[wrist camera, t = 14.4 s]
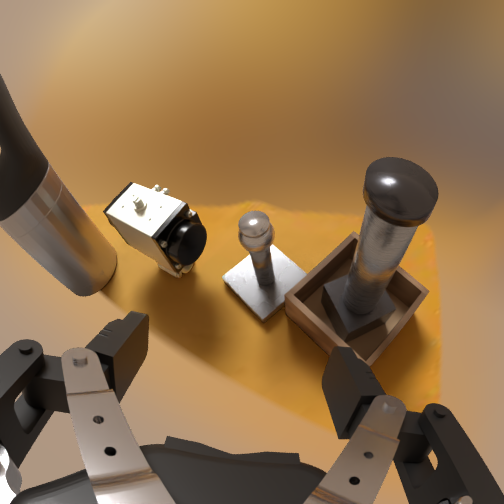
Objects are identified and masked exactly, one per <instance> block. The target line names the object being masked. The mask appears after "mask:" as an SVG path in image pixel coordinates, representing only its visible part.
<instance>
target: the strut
mask: <svg viewBox="0 0 504 504" xmlns="http://www.w3.org/2000/svg"><path fill="white" fill-rule="evenodd" d="M363 197H364V200H365V202H366V204H367V206H366V211H365V215H364V219H363V223H362V227H361V231H360V235H359V239H358V243H357V246H356V250H355V254H354V257H353V261H352V264H351V268H350V271H349V274H348V275H345V276H343V277H341V278H338V279H336V280H334V281H331V282H329V283H326V284H324V286H323V292H322V298H321V303H322V305H323V307H324V309H325V311H326V313H327V315H328V317H329V319H330V321H331V323H332V326H333V328H334V330H335V332H336V334H337V336H339V337H340V338H341V339H342V340H343V341H344V342H345V343H347V342H349V341H351V340H354V339H356V338H358V337H360V336H362V335H364V334H366V333H368V332H370V331H372V330H374V329H376V328H378V327H380V326H381V325H383V324H385V323H386V322H387V321H388V319H389V318H390V317H391V315H392V314H393V313H394V311H395V310H396V307H395V305H394V304H393V302H392V300H391V298H390V297H389V295H388V293H387V292H386V290H385V289H386V288H387V286H388V284H389V282H390V280H391V279H392V277H393V275H394V273H395V271H396V269H397V267H398V266H399V264H400V262H401V260H402V258H403V256H404V254H405V252H406V250H407V248H408V246H409V244H410V242H411V240H412V238H413V236H414V233H415V231H416V229H417V227H418V226H419V225H421V224H423V223H424V222H426V221H427V220H428V218H429V217H430V215H431V213H432V211H433V209H434V206H435V204H436V202H437V199H438V188H437V185H436V183H435V181H434V180H433V178H432V177H431V175H430V174H429V173H428V172H427V171H425V170H424V169H423V168H422V167H420V166H419V165H417V164H415V163H413V162H411V161H408V160H405V159H402V158H395V157H386V158H381V159H379V160H376V161H374V162H373V163H371V164H370V166H369V167H368V169H367V171H366V176H365V182H364V187H363Z"/></svg>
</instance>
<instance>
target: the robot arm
mask: <svg viewBox="0 0 504 504" xmlns="http://www.w3.org/2000/svg"><path fill="white" fill-rule="evenodd" d="M0 147H1V154H0V226H1V227H2V228H3V229H4V230H5V231H6V233H7V234H8V235H9V236H11V237H12V238H13V239H14V240H15V241H16V242H17V243H18V244H19V245H20V246H21V247H22V248H23V249H24V250H25V251H26V252H27V253H28V254H29V255H31V257H32V258H34V259H35V260H36V261H37V262H38V263H39V264H40V265H41V266H42V267H44V268H45V269H46V270H47V271H48V272H49V273H50V274H52V275H53V276H54V277H55V278H56V279H57V280H59V281H60V282H61V283H62V284H63V285H65V286H66V287H67V288H68V289H70V290H71V291H72V292H74V293H75V294H76V295H78V296H90V295H92V294H94V293H96V292H98V291H99V290H101V289H102V288H103V287H104V286H105V285H106V284H107V282H108V281H109V280H110V278H111V276H112V275H113V273H114V270H115V267H116V262H117V255H116V251H115V250H114V248H113V246H112V245H111V244H110V243H109V242H108V240H107V239H106V238H105V237H104V236H103V234H102V233H101V232H100V231H99V229H98V228H97V227H96V226H95V224H94V223H93V222H92V221H91V219H90V218H89V217H88V215H87V214H86V213H85V212H84V210H83V209H82V208H81V206H80V205H79V204H78V202H77V201H76V200H75V198H74V197H73V196H72V194H71V193H70V192H69V191H68V189H67V188H66V186H65V185H64V184H63V182H62V181H61V179H60V178H59V177H58V175H57V174H56V172H55V171H54V170H53V168H52V166H51V165H50V164H49V162H48V160H47V159H46V157H45V156H44V155H43V153H42V152H41V150H40V149H39V147H38V145H37V144H36V142H35V141H34V139H33V138H32V136H31V134H30V133H29V131H28V129H27V128H26V126H25V125H24V122H23V121H22V119H21V117H20V115H19V113H18V111H17V109H16V107H15V105H14V102H13V100H12V98H11V96H10V94H9V91H8V89H7V87H6V85H5V83H4V80H3V78H2V76H1V74H0ZM148 331H149V316H148V315H147V314H143V313H138V312H134V311H131V312H130V313H129V314H128V315H127V316H126V317H125V318H124V319H123V320H121V319H117V320H114V321H112V322H109V323H108V324H107V325H106V326H105V327H104V328H103V330H101V331H100V332H99V334H98V335H97V336H96V337H95V338H94V339H93V340H92V341H91V342H90V343H89V344H88V345H87V346H86V347H85V348H73V349H69V350H67V351H66V352H64V353H63V355H62V357H56V356H49V355H44V354H43V349H42V346H41V345H40V344H39V343H38V342H36V341H34V340H28V339H26V340H20V341H17V342H15V343H13V344H12V345H11V346H10V347H9V348H8V349H6V351H4V352H3V353H2V354H1V355H0V504H373V502H374V500H375V498H376V496H377V494H378V491H379V490H380V488H381V485H382V483H383V481H384V479H385V477H386V474H387V472H388V470H389V467H390V465H391V462H392V460H394V463H395V466H396V469H397V471H398V474H399V476H400V479H401V482H402V485H403V488H404V490H405V493H406V496H407V499H408V502H409V504H504V495H503V493H502V491H501V490H500V488H499V486H498V484H497V483H496V481H495V479H494V477H493V476H492V474H491V472H490V471H489V469H488V468H487V466H486V464H485V463H484V461H483V459H482V458H481V456H480V455H479V453H478V452H477V450H476V448H475V447H474V445H473V444H472V442H471V441H470V439H469V438H468V436H467V435H466V433H465V431H464V430H463V428H462V427H461V426H460V424H459V423H458V421H457V420H456V418H455V417H454V415H453V414H452V412H451V411H450V410H449V409H447V408H446V407H445V406H443V405H440V404H436V403H432V404H428V405H427V406H426V407H425V408H424V410H423V412H422V413H418V412H411V411H406V406H405V405H404V403H403V402H402V401H401V400H399V399H398V398H396V397H393V396H390V395H386V394H385V392H384V391H383V389H382V387H381V385H380V384H379V382H378V380H377V379H376V377H375V375H374V374H373V373H372V370H371V369H370V367H369V366H368V364H366V363H365V362H364V361H363V360H361V359H358V358H357V356H356V354H355V353H354V351H353V349H352V348H351V347H342V346H334V347H333V349H332V351H331V354H330V357H329V360H328V363H327V365H326V368H325V371H324V374H323V377H322V389H323V392H324V395H325V398H326V401H327V404H328V407H329V410H330V413H331V417H332V420H333V423H334V426H335V429H336V432H337V435H338V439H350V440H349V442H348V443H347V445H346V447H345V448H344V450H343V451H342V453H341V454H340V456H339V457H338V459H337V460H336V461H335V463H334V464H333V466H332V467H331V469H330V470H329V471H328V473H326V472H324V471H323V470H321V469H319V468H316V467H313V466H312V465H309V464H305V463H302V462H300V459H299V454H298V453H280V452H260V453H250V454H230V453H227V452H223V451H221V450H218V449H215V448H212V447H209V446H206V445H204V444H201V443H197V442H193V441H188V440H183V439H178V438H174V437H170V436H167V438H166V441H165V444H151V445H144V446H138V444H137V442H136V440H135V438H134V436H133V434H132V431H131V429H130V427H129V425H128V423H127V421H126V418H125V416H124V414H123V412H122V410H121V407H120V405H119V403H120V401H121V400H122V398H123V396H124V394H125V393H126V391H127V389H128V387H129V386H130V384H131V382H132V381H133V379H134V377H135V375H136V374H137V372H138V370H139V368H140V367H141V365H142V363H143V362H144V360H145V358H146V355H147V351H148ZM21 391H22V395H21V396H20V397H19V398H18V400H17V401H16V402H15V399H16V398H17V396H18V395H19V394H20V393H21ZM54 411H59V412H64V413H70V414H71V419H72V422H73V427H74V430H75V434H76V438H77V442H78V445H79V449H80V452H81V455H82V458H83V461H84V464H85V467H86V469H84V470H81V471H78V472H76V473H74V474H71V475H68V476H65V477H63V478H60V479H57V480H54V481H51V482H48V483H45V484H42V485H39V486H36V487H32V488H29V489H26V490H24V491H22V492H20V487H21V484H22V477H21V474H20V472H19V470H18V468H19V467H20V465H21V463H22V462H23V460H24V458H25V456H26V454H27V453H28V451H29V450H30V448H31V446H32V445H33V443H34V442H35V440H36V439H37V437H38V435H39V434H40V432H41V430H42V429H43V428H44V426H45V424H46V423H47V421H48V420H49V418H50V417H51V415H52V414H53V412H54ZM432 450H433V451H434V453H435V455H436V457H437V460H438V465H437V468H436V470H434V468H433V466H432V464H431V462H430V460H429V457H428V455H429V453H430V452H431V451H432Z"/></svg>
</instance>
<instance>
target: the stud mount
mask: <svg viewBox="0 0 504 504" xmlns="http://www.w3.org/2000/svg"><path fill="white" fill-rule="evenodd" d="M238 225H239V232H238V238H239V241H240V244H241V245H242V247H243V248H244V249H246V250H247V251H249V253H250V255H249V256H248V257H246V258H245V259H244V260H243V261H241V262H240V263H239V264H237V265H236V266H235V267H234V268H232V269H231V270H230V271H229V272H227V273H226V274H225V275H224V276H222V279H223V281H224V282H225V283H226V284H227V286H228V287H229V288H230V289H231V290H232V291H233V292H234V293H235V294H236V295H237V296H238V297H239V298H240V299H241V300H242V301H243V302H244V303H245V305H246V306H247V307H248V308H249V309H250V310H251V311H252V312H253V313H254V314H255V315H256V316H257V317H258V318H259V319H260V320H261V321H262V322H263V323H265V322H266V321H267V320H268V319H269V318H271V317H272V316H273V315H274V314H275V313H276V312H277V311H279V310H280V309H281V308H282V307H283V306H284V305H285V298H284V295H285V294H286V293H287V292H288V291H289V290H290V289H291V288H293V287H294V286H295V285H296V284H297V283H298V282H299V281H300V280H302V279H303V278H304V277H305V276H306V275H307V274H306V273H305V272H304V271H303V270H302V269H301V268H299V267H298V266H297V265H296V264H295V263H294V262H292V261H291V260H290V259H289V258H288V257H287V256H285V255H284V254H283V253H282V252H281V251H280V250H278V249H277V248H276V247H275V246H274V245H273V241H274V238H275V232H274V228H273V226H272V224H271V223H270V221H269V218H268V216H267V215H266V214H265V213H263V212H260V211H251V212H248V213H246V214H244V215H243V216H242V217H241V218H240V220H239V224H238Z"/></svg>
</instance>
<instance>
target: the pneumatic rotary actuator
mask: <svg viewBox="0 0 504 504" xmlns="http://www.w3.org/2000/svg"><path fill="white" fill-rule="evenodd" d="M160 191H161V187H159V186H158V185H156V186H155V188H153V189H152V190H151V189H148V188H145V187H143V186H140V185H137V184H135V183H132V182H130V183H129V184H128V185H127V186H126V187H125V188H124V189H123V190H122V191H121V192H120V194H119V195H118V196H116V197H115V198H114V199H113V201H112V202H111V203H110V204H109V205H108V206H107V207H106V208H105V210H104V211H103V212H104V214H105V215H106V216H107V218H108V220H109V223H110V224H111V225H112V226H113V227H115V229H116V230H117V231H118V232H119V234H120V235H121V236H122V238H123V239H124V240H125V242H126V243H127V244H128V245H130V246H132V247H133V248H135V249H137V250H138V251H140V252H142V253H143V254H145V255H147V256H148V257H150V258H152V259H154V260H155V261H156V262H157V263H158V266H159V268H161V269H162V270H164V271H166V272H167V273H169V274H171V275H173V276H174V277H176V278H179V277H181V276H182V273H187V272H189V271H190V270H191V268H192V266H193V263H194V262H195V261H196V260H197V259H198V258H199V257H200V255H201V254H202V252H203V250H204V247H205V244H206V240H207V233H206V229H205V227H204V226H203V225H202V223H201V221H200V219H199V216H198V214H197V212H195V211H192V210H190V209H189V206H188V204H187V203H185V202H182V201H180V200H177V199H175V198H172V197H170V196H167V195H169V194H170V191H169V190H168V189H167V188H164V189H163V191H161V192H160ZM159 192H160V193H159Z"/></svg>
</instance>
